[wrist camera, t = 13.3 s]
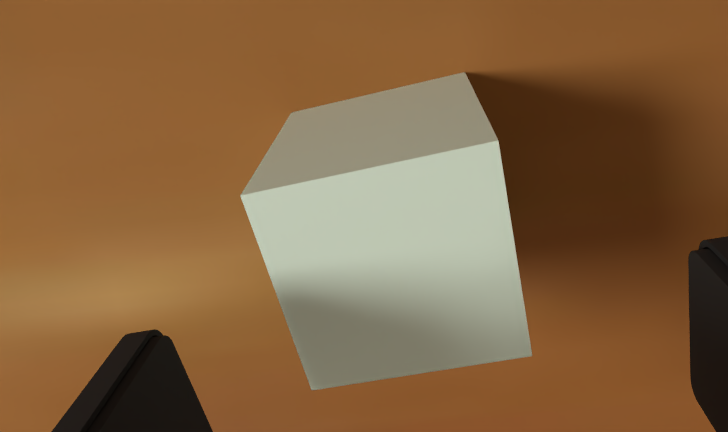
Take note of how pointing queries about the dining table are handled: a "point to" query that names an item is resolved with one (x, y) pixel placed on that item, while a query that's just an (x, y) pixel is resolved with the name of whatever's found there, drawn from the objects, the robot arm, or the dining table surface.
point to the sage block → (391, 235)
